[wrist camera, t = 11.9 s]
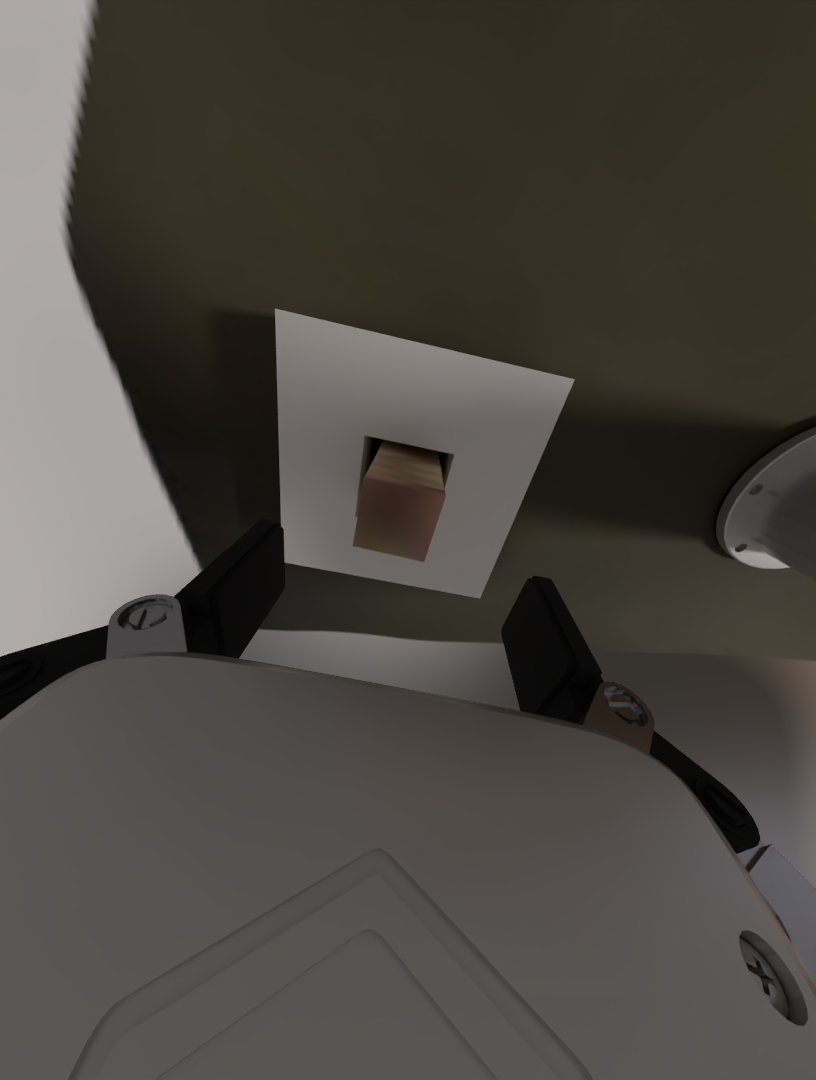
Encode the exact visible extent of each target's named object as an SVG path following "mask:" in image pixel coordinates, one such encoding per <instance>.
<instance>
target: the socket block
mask: <svg viewBox="0 0 816 1080" xmlns="http://www.w3.org/2000/svg"><path fill="white" fill-rule="evenodd" d="M275 324H276V360H277V396H278V432H279V469H280V505H281V527H283V529H284V559H285V563H290V564H296V565H301V566H307V567H312V568H318V569H323V570H328V571H334V572H339V573H345V574H350V575H356V576H361V577H367V578H372V579H377V580H383V581H388V582H394V583H399V584H405V585H410V586H415V587H421V588H426V589H432V590H437V591H443V592H448V593H454V594H459V595H464V596H470V597H475V598H480V597H481V595H482V593H483V590H484V588H485V586H486V583H487V581H488V579H489V576H490V574H491V572H492V569H493V567H494V565H495V563H496V560H497V558H498V556H499V553H500V551H501V549H502V546H503V544H504V542H505V539H506V537H507V535H508V533H509V530H510V528H511V526H512V523H513V521H514V519H515V516H516V514H517V512H518V509H519V507H520V505H521V502H522V500H523V498H524V496H525V493H526V491H527V489H528V486H529V484H530V482H531V479H532V477H533V475H534V472H535V470H536V468H537V466H538V463H539V461H540V459H541V456H542V454H543V452H544V449H545V447H546V445H547V442H548V440H549V438H550V435H551V433H552V431H553V429H554V426H555V424H556V422H557V419H558V417H559V415H560V412H561V410H562V408H563V405H564V403H565V401H566V398H567V396H568V394H569V392H570V389H571V387H572V385H573V382H574V380H575V379H570V378H566V377H562V376H558V375H553V374H549V373H545V372H541V371H537V370H532V369H528V368H524V367H520V366H515V365H511V364H507V363H503V362H498V361H494V360H490V359H486V358H482V357H477V356H473V355H469V354H465V353H460V352H456V351H452V350H448V349H444V348H439V347H435V346H431V345H427V344H422V343H418V342H414V341H410V340H405V339H401V338H397V337H393V336H389V335H384V334H380V333H376V332H372V331H367V330H363V329H359V328H355V327H350V326H346V325H342V324H338V323H334V322H329V321H325V320H321V319H317V318H312V317H308V316H304V315H300V314H295V313H291V312H287V311H283V310H279V309H275ZM374 437H375V438H380V439H384V440H389V441H394V442H398V443H403V444H408V445H412V446H417V447H422V448H426V449H431V450H436V451H440V452H445V453H444V456H443V460H442V464H441V472H442V479H443V485H444V490H445V494H446V498H445V501H444V504H443V507H442V510H441V513H440V516H439V519H438V522H437V525H436V528H435V531H434V534H433V537H432V540H431V543H430V546H429V549H428V552H427V555H426V558H425V561H424V562H421V561H417V560H412V559H408V558H403V557H399V556H395V555H390V554H386V553H381V552H377V551H372V550H368V549H364V548H359V547H355V546H353V540H354V534H355V529H356V523H357V517H358V511H359V505H360V499H361V494H362V488H363V482H364V476H365V475H366V473H367V471H368V470H369V468H370V462H371V454H372V447H373V439H374Z"/></svg>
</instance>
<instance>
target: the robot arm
mask: <svg viewBox="0 0 816 1080" xmlns="http://www.w3.org/2000/svg"><path fill="white" fill-rule="evenodd" d="M716 535H717V539H718V542H719V544H720V546H721V547H722V549H723V550H724V551H725V552H726V553H727V554H729V555H730V556H732V557H733V558H735V559H736V560H738V561H739V562H741V563H744V564H746V565H748V566H752V567H757V568H764V569H779V568H788V567H791V568H793V569H795V570H796V571H798V572H800V573H802V574H803V575H805V576H807V577H809V578H811V579H812V580H814V581H816V427H814V428H811V429H809V430H807V431H805V432H802V433H800V434H798V435H796V436H795V437H793V438H791V439H789V440H788V441H786V442H784V443H783V444H781V445H779V446H778V447H776V448H775V449H773V450H772V451H771V452H769V453H768V454H767V455H765V456H764V457H762V458H761V459H760V460H759V461H758V462H757V463H755V464H754V465H753V466H752V467H751V468H750V469H749V470H748V471H747V472H746V473H745V474H744V475H743V476H742V477H741V478H740V479H739V481H738V482H737V483H736V484H735V485H734V486H733V488H732V489H731V491H730V492H729V494H728V495H727V497H726V499H725V500H724V502H723V505H722V507H721V509H720V511H719V514H718V518H717V523H716ZM284 586H285V559H284V529H283V527H280V526H279V523H278V522H274V521H269V520H264V519H261V520H259V521H258V522H257V523H256V524H255V525H254V526H253V527H252V528H250V529H249V530H248V531H247V532H246V533H245V534H244V535H243V536H242V537H241V538H239V539H238V540H237V541H236V542H235V543H234V544H233V545H232V546H231V547H230V548H229V549H227V550H225V551H224V552H223V553H222V554H221V555H219V556H218V557H217V558H216V559H215V560H214V561H213V562H212V563H211V564H209V565H208V566H207V567H206V568H205V569H204V570H203V571H202V572H201V573H200V574H198V575H197V576H196V577H195V578H194V579H193V580H192V581H191V582H190V583H188V584H187V585H186V586H185V587H184V588H183V589H182V590H181V591H180V592H179V593H177V594H176V595H175V596H174V597H172V596H168V595H149V596H144V597H140V598H137V599H134V600H132V601H130V602H128V603H126V604H124V605H123V606H122V607H120V608H119V609H117V611H115V612H114V614H113V615H112V616H111V618H110V621H109V625H107V626H104V627H100V628H97V629H93V630H90V631H87V632H83V633H79V634H76V635H72V636H69V637H66V638H62V639H59V640H55V641H52V642H48V643H45V644H41V645H38V646H34V647H31V648H27V649H24V650H21V651H17V652H14V653H10V654H7V655H4V656H1V657H0V1080H816V888H815V887H814V886H813V885H812V884H811V883H810V882H809V881H808V880H807V879H806V878H805V877H804V876H803V875H802V874H801V873H800V872H799V871H798V870H797V869H796V868H795V867H794V866H793V865H792V864H791V863H790V862H789V861H788V860H787V859H786V858H785V857H784V856H783V855H782V854H781V853H780V852H779V851H778V850H777V849H776V848H775V847H774V846H773V845H772V844H770V845H767V846H765V845H764V844H763V843H762V842H761V841H760V835H759V831H758V828H757V826H756V824H755V822H754V820H753V818H752V816H751V815H750V813H749V812H748V810H747V809H746V808H745V806H744V805H743V804H742V803H741V802H740V801H739V800H738V798H737V797H736V796H735V795H734V794H733V793H732V792H730V791H729V790H728V789H727V788H726V787H725V786H724V785H723V784H721V783H720V782H719V781H718V780H716V779H715V778H714V777H712V776H711V775H710V774H709V773H707V772H706V771H705V770H704V769H702V768H701V767H700V766H698V765H697V764H696V763H695V762H693V761H692V760H691V759H689V758H688V757H687V756H686V755H684V754H683V753H682V752H680V751H679V750H678V749H677V748H676V747H674V746H673V745H672V744H670V743H669V742H668V741H667V740H665V739H664V738H663V737H661V736H660V735H659V734H658V733H656V732H655V731H654V719H653V716H652V714H651V712H650V710H649V709H648V707H647V706H646V704H645V703H644V702H643V701H642V700H641V699H640V698H639V697H638V696H637V695H636V694H634V693H633V692H632V691H631V690H629V689H627V688H626V687H624V686H622V685H620V684H617V683H615V682H608V681H607V682H604V681H603V679H602V677H601V676H600V675H601V674H602V671H601V669H600V668H599V666H598V664H597V662H596V660H595V658H594V657H593V655H592V653H591V651H590V649H589V647H588V646H587V644H586V642H585V640H584V638H583V636H582V635H581V633H580V631H579V629H578V627H577V625H576V624H575V622H574V620H573V618H572V616H571V614H570V613H569V611H568V609H567V607H566V605H565V603H564V601H563V600H562V598H561V596H560V594H559V592H558V590H557V589H556V587H555V585H554V583H553V581H552V580H551V579H549V578H544V577H539V576H534V577H532V579H531V578H529V579H528V580H527V581H526V583H525V585H524V587H523V588H522V590H521V592H520V594H519V596H518V598H517V600H516V602H515V604H514V606H513V608H512V609H511V611H510V613H509V615H508V617H507V619H506V621H505V623H504V625H503V627H502V639H503V643H504V647H505V650H506V655H507V659H508V663H509V667H510V671H511V674H512V678H513V683H514V686H515V691H516V695H517V698H518V703H519V707H520V711H517V710H512V709H507V708H502V707H497V706H492V705H487V704H482V703H476V702H471V701H466V700H461V699H456V698H451V697H446V696H440V695H435V694H430V693H425V692H419V691H414V690H409V689H404V688H398V687H393V686H387V685H382V684H377V683H372V682H366V681H361V680H355V679H350V678H345V677H339V676H334V675H329V674H323V673H317V672H312V671H307V670H301V669H296V668H290V667H284V666H279V665H274V664H267V663H262V662H256V661H250V660H243V659H239V657H240V656H241V654H242V653H243V651H244V650H245V648H246V647H247V645H248V644H249V642H250V641H251V639H252V638H253V636H254V635H255V633H256V631H257V630H258V628H259V627H260V625H261V624H262V622H263V621H264V619H265V618H266V616H267V615H268V613H269V612H270V610H271V609H272V607H273V606H274V604H275V603H276V601H277V600H278V598H279V596H280V595H281V593H282V592H283V590H284Z"/></svg>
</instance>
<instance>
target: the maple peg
mask: <svg viewBox="0 0 816 1080" xmlns="http://www.w3.org/2000/svg"><path fill="white" fill-rule="evenodd" d="M445 498H446V494H445V490H444V485H443V479H442V472H441V466H440V460H439V454H438V451H436V450H431V449H426V448H422V447H417V446H412V445H408V444H403V443H398V442H394V441H389V440H383V442H382V444H381V446H380V448H379V450H378V452H377V454H376V456H375V458H374V460H373V462H372V464H371V466H370V468H369V470H368V471H367V473H366V475H365V476H364V482H363V488H362V494H361V499H360V505H359V511H358V517H357V523H356V529H355V534H354V540H353V546H355V547H359V548H364V549H368V550H372V551H377V552H381V553H386V554H390V555H395V556H399V557H403V558H408V559H412V560H417V561H421V562H424V561H425V558H426V555H427V552H428V549H429V546H430V543H431V540H432V537H433V534H434V531H435V528H436V525H437V522H438V519H439V516H440V513H441V510H442V507H443V504H444V501H445Z"/></svg>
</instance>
